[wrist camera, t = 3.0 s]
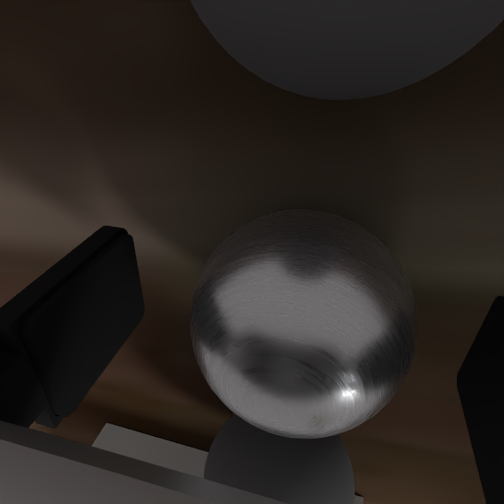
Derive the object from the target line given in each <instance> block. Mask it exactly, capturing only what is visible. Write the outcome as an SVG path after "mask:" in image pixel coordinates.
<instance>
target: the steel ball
mask: <svg viewBox="0 0 504 504" xmlns="http://www.w3.org/2000/svg"><path fill="white" fill-rule="evenodd" d="M417 332H418V323H417V311H416V304H415V300H414V297H413V293H412V290H411V286H410V283H409V281H408V279H407V277H406V275H405V273H404V271H403V269H402V267H401V266H400V264H399V262H398V261H397V260H396V258H395V257H394V255H393V254H392V253H391V252H390V250H389V249H388V248H387V247H386V246H385V245H384V244H383V243H382V242H381V241H380V240H379V239H378V238H377V237H375V236H374V235H373V234H372V233H371V232H369V231H368V230H367V229H365V228H363V227H362V226H360V225H359V224H357V223H355V222H353V221H351V220H349V219H346V218H344V217H342V216H339V215H335V214H332V213H329V212H324V211H319V210H310V209H289V210H283V211H277V212H273V213H270V214H266V215H263V216H261V217H258V218H256V219H254V220H252V221H250V222H247V223H246V224H244V225H243V226H241V227H240V228H238V229H237V230H235V231H234V232H233V233H231V234H230V235H229V236H228V237H227V238H226V239H224V240H223V241H222V242H221V244H220V245H219V246H218V247H217V248H216V250H215V251H214V252H213V253H212V254H211V256H210V257H209V258H208V260H207V262H206V264H205V265H204V267H203V269H202V271H201V273H200V275H199V277H198V280H197V283H196V286H195V289H194V292H193V296H192V302H191V310H190V333H191V340H192V346H193V350H194V353H195V357H196V360H197V363H198V365H199V367H200V369H201V372H202V374H203V376H204V378H205V379H206V381H207V383H208V385H209V386H210V388H211V389H212V390H213V392H214V393H215V394H216V395H217V396H218V398H219V399H220V400H221V401H222V402H223V403H224V404H225V405H226V406H227V407H228V408H229V409H230V410H231V411H232V412H233V413H235V414H236V415H237V416H239V417H240V418H242V419H243V420H245V421H246V422H248V423H250V424H251V425H253V426H255V427H257V428H259V429H261V430H264V431H267V432H269V433H272V434H276V435H280V436H284V437H290V438H304V439H309V438H324V437H329V436H333V435H336V434H339V433H343V432H346V431H349V430H351V429H353V428H355V427H357V426H359V425H361V424H362V423H364V422H366V421H367V420H369V419H370V418H372V417H373V416H375V415H376V414H377V413H378V412H379V411H380V410H381V409H382V408H383V407H384V406H386V405H387V404H388V403H389V402H390V401H391V399H392V398H393V397H394V395H395V394H396V393H397V391H398V390H399V388H400V387H401V385H402V384H403V382H404V380H405V378H406V376H407V374H408V371H409V369H410V366H411V364H412V361H413V357H414V353H415V349H416V342H417Z"/></svg>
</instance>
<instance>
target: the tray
mask: <svg viewBox="0 0 504 504" xmlns="http://www.w3.org/2000/svg"><path fill="white" fill-rule="evenodd" d="M92 446H93V447H96V448H100V449H103V450H107V451H110V452H114V453H117V454H121V455H124V456H127V457H131V458H134V459H138V460H141V461H145V462H148V463H152V464H155V465H159V466H162V467H165V468H169V469H172V470H176V471H179V472H182V473H186V474H189V475H193V476H196V477H199V478H203V479H204V469H205V463H206V459H207V456H208V453H209V452H205V451H202V450H199V449H195V448H192V447H188V446H185V445H181V444H178V443H174V442H171V441H168V440H164V439H161V438H157V437H154V436H150V435H147V434H143V433H140V432H137V431H133V430H130V429H126V428H123V427H119V426H116V425H113V424H109V423H106V424H105V426H104V427H103V429H102V430H101V432H100V433H99V435H98V437H97V438H96V440H95V441H94V443H93V444H92ZM363 500H364V497H360V496H357V495H355V498H354V504H363Z"/></svg>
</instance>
